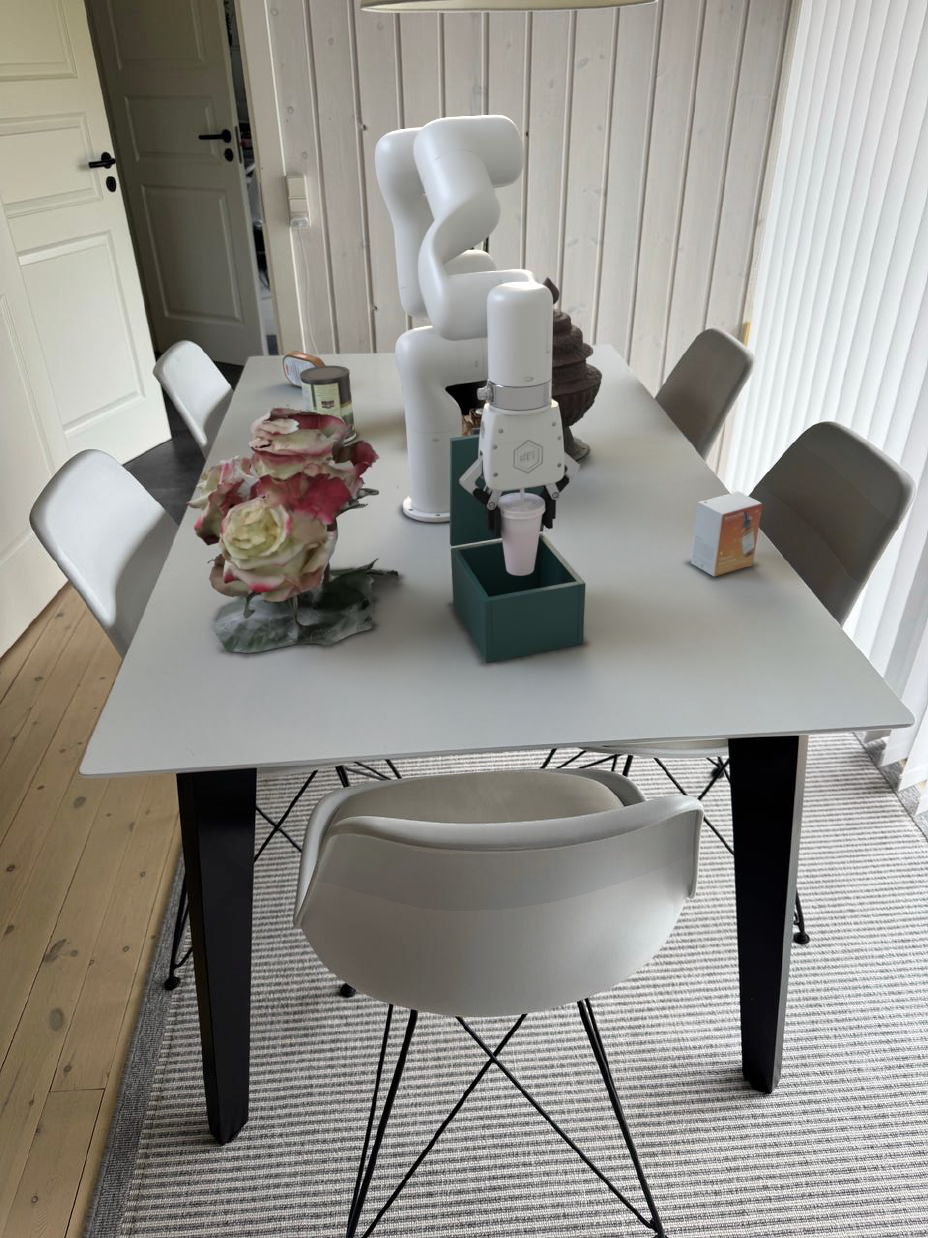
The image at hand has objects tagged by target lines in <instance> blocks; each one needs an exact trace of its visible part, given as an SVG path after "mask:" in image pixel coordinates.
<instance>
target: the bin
mask: <svg viewBox="0 0 928 1238" xmlns="http://www.w3.org/2000/svg"><path fill="white" fill-rule="evenodd" d="M450 561H451V562H450V564H451V566H450V567H451V583H452V585H451V586H452V606H453V607H454V609H455V611H456V613H457V614H458V616H459V618H460V620H461V622H462V623H463V625H464V627H465V629H466V630H467V632H468V634H469V635H470V637H471V639H472V640H473V642H474V644H475V646H476V647H477V649H478V651H479V653H480V655H481V657H482V659H484V661H485V663H486V664H487V663H492V662H497V661H503V660H508V659H512V658H517V657H523V656H528V655H533V654H537V653H544V652H548V651H553V650H558V649H564V648H568V647H573V646H574V647H575V646H578V645H583V644H584V632H585V631H584V630H585V610H586V609H585V606H586V585H587V584H586V582H585V581H584V579H582V577H581V576H580V575H579V574H578V573H577V571H576V570H575V569H574V568H573V566H572V565H570V563H569V562H568V561H567V560H566V559H565V558H564V556H563V555H562V554H561V553H560V552H559V551H558V549H557V548H556V547H555V545H553V544H552V542H551V541H550V540H549V539H548V538H547V537H546V535H545V534H544V533H543V532H540V533H539V539H538V546H537V552H536V559H535V566H534V571H533V572H532V573H530V574H528V575H523V576H518V575H512V574H510V573H508V572H507V570H506V564H505V557H504V550H503V542H502V539H496V540H490V541H484V542H478V543H472V544H466V545H460V546H454V547H451V548H450Z"/></svg>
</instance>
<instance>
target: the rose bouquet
mask: <svg viewBox="0 0 928 1238" xmlns="http://www.w3.org/2000/svg"><path fill="white" fill-rule="evenodd" d="M289 406H290V404H286V405H285V406H284V407H282V406H281V407H271V408H269V409H268V411H267V412H266V413H265V414H264V415H263V416H260V417H257V418H256V419H255V420H254V421H253V422H252V423H251V425H250V426H249V431H250V434H251V435H252V436H253V437H252V441H251V440H250V441H248V447H249V448H250V449H251V450H252V451H253V452H254V453H252V454H251V456H250V458H248V457H245V456H243V455H240V454H238V455H235V456H233V457H231V458H227V459H222V460H219V462H218V464H216V465H213V466H211V467H210V468H209V469H207V470H205V471H204V472H202V473H201V475H200V479H202V480H203V482H200V483H197V485H195V487H196V488H198V490H199V492H200V493H199V497H198V498H195V499H193V500H190V501H187V502H186V503H185V505H186V506H187V505H188V506H189V508H191V509H196V510H197V509H200V510H201V511H202V513H201V514H200V516H199V518H198V519H197V520H196V522H195V524H194V525H193V530H194V531H195V535H196V536H197V537H198V538H200V539H201V540H202V541H203V542H204V544H205V545H206V546H208V547H210V546H212V545H215V544H218V545H217V546H218V547H219V548H220V550H221V551H220V554H218V556H215V558H214V559H210V560H208V561H207V562H206V563H207V564H209V563H211V562H214V564H213V566H212V567H211V569H210V574H209V577H208V580H209V582H210V585H211V587H212V589H213V590H215V591H216V592H218V593H219V594H221V595H223V596H226V597H230V598H235V597H242V599H239V600H237V601H235V602H233V603H231V604H229V605H227V606H224V608H223V609H222V611H221V612H220V615H219V616H218V618H217V621H216V623H215V625H214V627H213V630H212V632H213V633H214V634H215V636H217V638H218V640H219V641H220V643H221V644H222V646H223V647H224V649H225V651H226V652H231V653H232V652H234V653H235V652H236V653H244V654H249V653H260V652H264V651H269V650H273V649H279V648H282V647H287V646H292V645H300V644H302V645H303V644H318V645H323V646H331V645H334V643H337V642H339V641H340V640H343V639H345V638H347V637H349V636H350V635H351V636H352V635H354V634H357V633H362V632H364V631H368V630H371V629H372V626H373V620H374V619H373V616H374V602H373V601H374V599H373V592H372V591H373V589H372V584H373V583H374V578H373V577H372V576H373V575H376V576H386V575H387V576H388V575H390V576H396V577H397V578H398V579H397V580H400V579H399V577H400V576H399V572H398V571H397V570H394V569H392V570H389V571H387V570H383V569H374V565H375V564H376V561H379V559H380V557H378V558H376V559H374V560H373V561H371V562H369V563H367V564H364V565H362V566H359V567H356V568H353V567H349V568H343V569H331V563H330V560H331V558H332V556H333V555H334V552H335V549H336V546H337V542H338V539H339V525H338V521H337V518H338V517H340V516H341V515H342V514H344V513H346V512H347V511H350V510H357V509H363V508H366V507H367V506H368V505H369V503H366V504H365V503H362V502H360V500H362V499H364V498H366V497H369V496H377V495H380V490H379V489H375V488H370V487H364V485H365V484H367V483H366V482H365V481H364V478H363V477H361V476H362V475H364V474H365V473H366V472H367V470H368V469H369V468H373V464H375V463H377V460H379V459H380V456H379V455H378V454H377V452H376V450H375V449H374V447H373V446H372V444H371V442H370V441H369V440H367V439H365V440H364V439H361V440H357V441H355V442H352V443H350V444H347V445H345V444H346V443H344V440H345V438H346V437H347V435H348V428H347V426H346V424H345V422H344V421H343V419H342V418H341V417H336V416H333V415H331V414H330V415H328V414H326V415H325V414H321V413H317V412H310V411H308V412H306V411H305V410H302V409H295V408H290V407H289ZM251 467H252V469H253V470H254V471H255V473H256V475H257V476H255V475H254V474H253V472H252V471H251ZM396 486H397V487H396V488H397V489H399V485H396ZM370 575H372V576H370Z"/></svg>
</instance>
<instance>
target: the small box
mask: <svg viewBox="0 0 928 1238" xmlns="http://www.w3.org/2000/svg"><path fill="white" fill-rule="evenodd" d="M696 505H697V506H696V511H695V520H694V521H695V522H694V529H693V530H694V531H693V539H692V547H691V556H690V564H692V565H694V566H695V567H697V568H698V569H700V570H702V571H704V572H705V573H706V574H708V575H710V576H712V577H714V578H715V577H718V576H721V575H724V574H727V573H730V572H733V571H737V570H740V569H744V568H748V567H751V566H753V564H754V559H755V553H756V546H757V540H758V534H759V529H760V521H761V515H762V509H763V502H762V501H761V502H760V501H759V500H757V499H755V498H753V497H751V496H750V495H749V496H748V495H747V494H744V493H743V492H740V491H738V490H736V491H733V492H731V493H727V494H724V495H723V494H722V495H720V496H716V497H713V498H709V499H708V498H707V499H705V500H700V501H697V504H696Z"/></svg>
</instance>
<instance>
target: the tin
mask: <svg viewBox="0 0 928 1238" xmlns="http://www.w3.org/2000/svg"><path fill="white" fill-rule="evenodd" d="M318 366H327V364H325V362H324V361H323V360H322V359H321V357H319V356H317V355H313V354H309V353H305V352H302V351H298V350H293V351H292V352H289V353H287V354H285V355H284V357H283V359H282V368H283V372H284V376H285V378H286V379H287V380H288V383H290V384H291V385H293V386H294V387H298V388H301V389H302V385H301V379H300V373H301V372H302V371H304V370H306V369H309V368H313V367H318Z"/></svg>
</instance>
